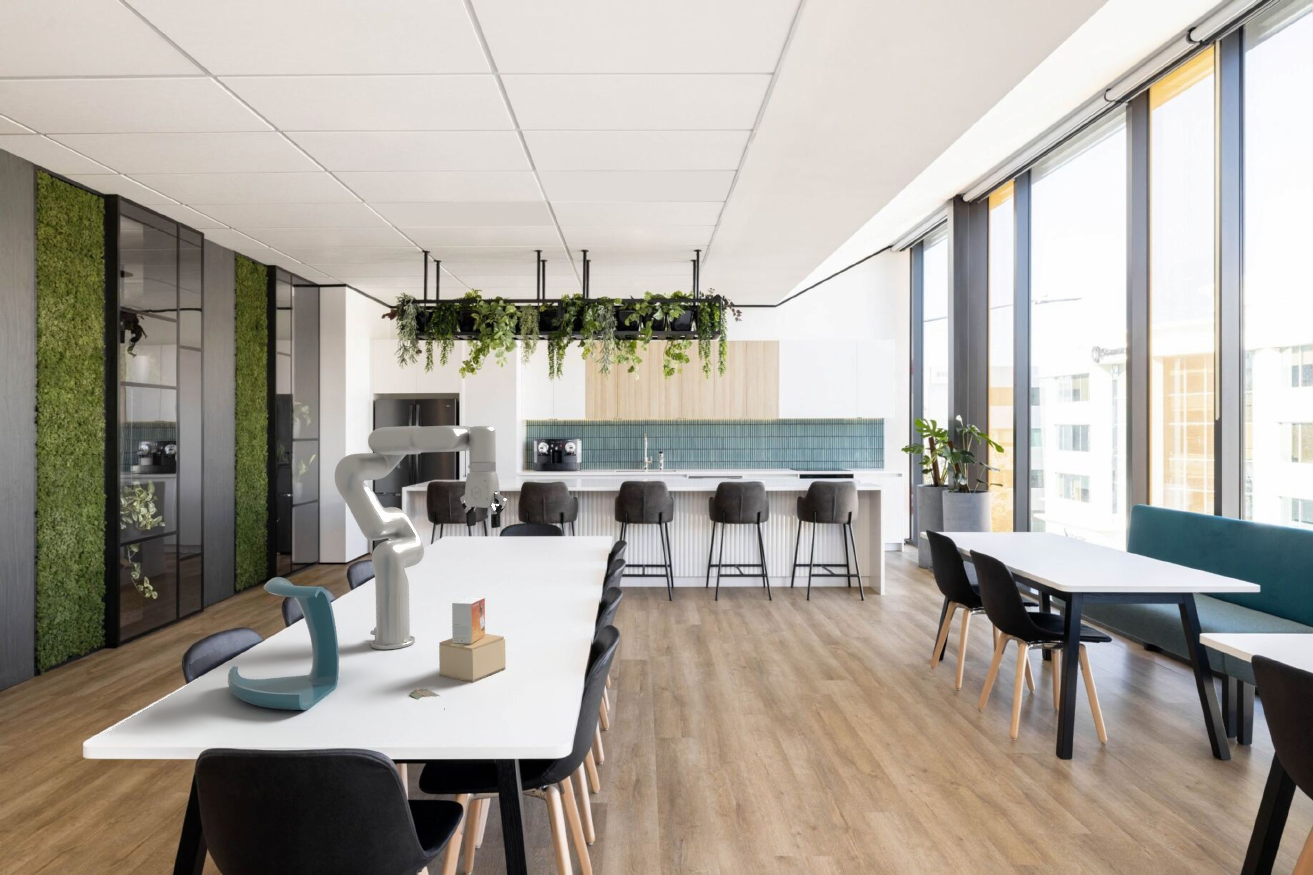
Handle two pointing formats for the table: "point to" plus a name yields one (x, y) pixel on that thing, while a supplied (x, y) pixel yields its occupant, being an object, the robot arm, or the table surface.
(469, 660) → the carton
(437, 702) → the table surface
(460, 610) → the small box
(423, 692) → the map
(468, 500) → the robot arm
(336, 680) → the headphone stand
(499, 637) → the lid
